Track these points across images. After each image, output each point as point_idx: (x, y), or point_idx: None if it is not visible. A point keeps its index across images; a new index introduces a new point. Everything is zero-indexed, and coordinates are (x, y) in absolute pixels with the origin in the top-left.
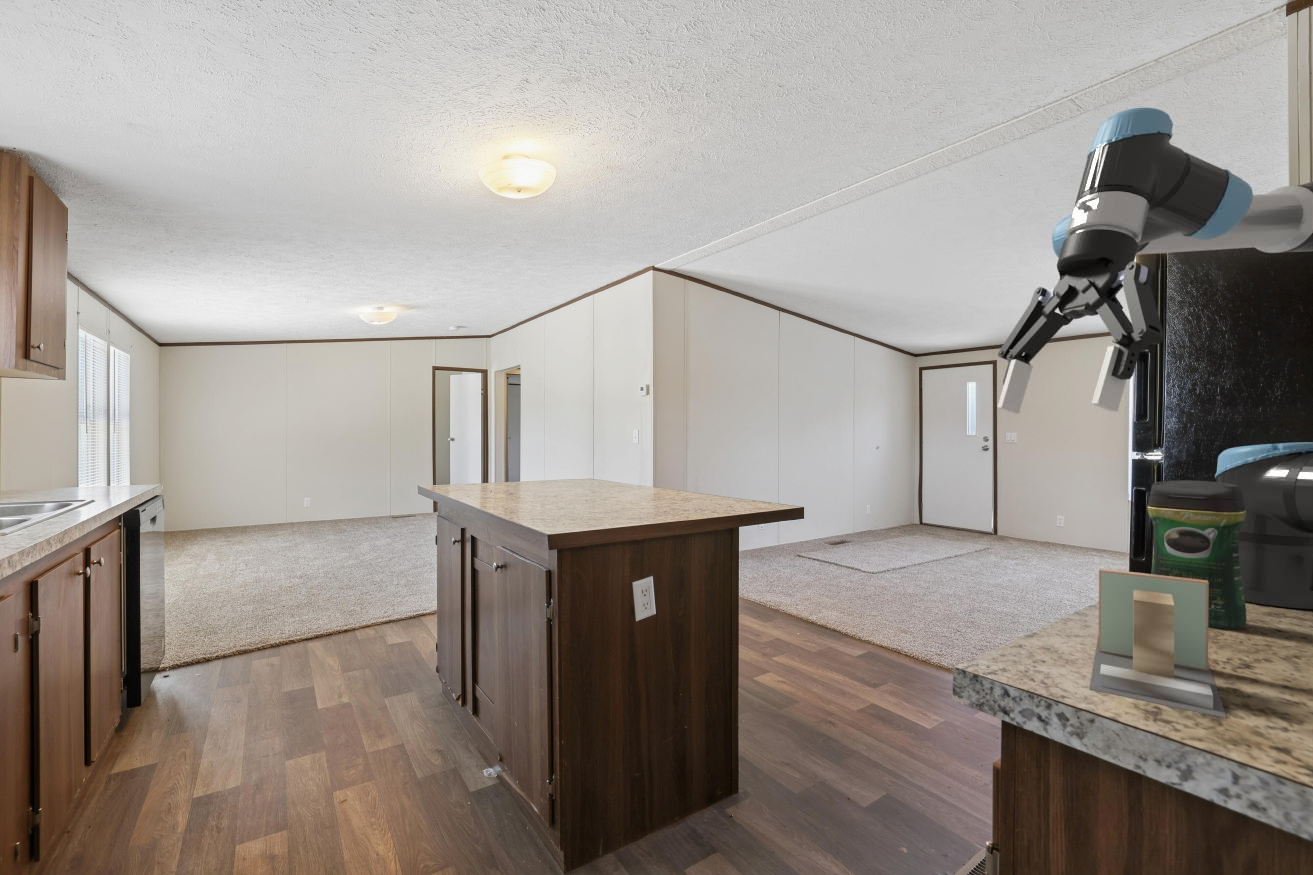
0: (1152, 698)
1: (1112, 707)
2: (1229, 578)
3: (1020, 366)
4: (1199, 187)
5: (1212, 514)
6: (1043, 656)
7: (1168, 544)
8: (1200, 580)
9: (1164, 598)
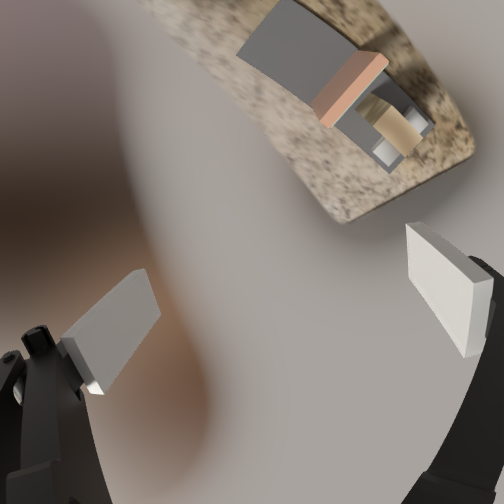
0: None
1: (406, 172)
2: None
3: (100, 365)
4: None
5: None
6: (316, 155)
7: None
8: (380, 60)
9: (404, 126)
